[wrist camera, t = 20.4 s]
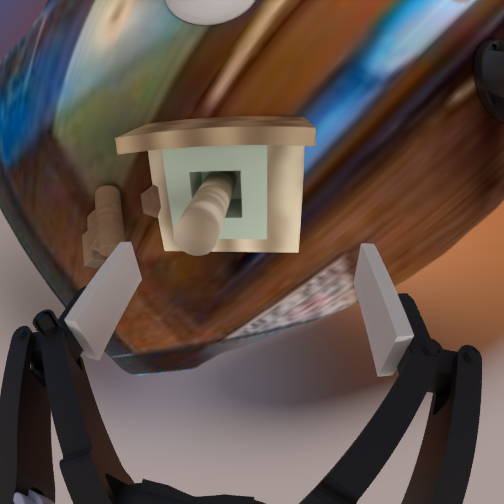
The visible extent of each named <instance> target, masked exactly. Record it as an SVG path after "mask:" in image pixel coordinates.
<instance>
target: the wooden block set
mask: <svg viewBox="0 0 504 504" xmlns="http://www.w3.org/2000/svg"><path fill="white" fill-rule="evenodd" d="M141 203H142V210H143V213H144V214H147V215H149V216H152V217H155V218H157V217H158V215H159V212H160V209H161V203H160V197H159V191H158V187H157V186H155V185H152V186H151V187H150V188H148V189H147V190H146V191H145V192H143V193H142V194H141ZM87 225H88V230H87V231H86V232H85V233H84V234H83V235H82V244H83V259H84V266H87V267H92V268H98V267H100V266H101V265H102V264H104V263H105V261H106V259H105V257H109V256H110V255H111V253H112V252H113V251H114V250H115V248H116V247H117V246H118V245H119V243H120V242H125V235H124V226H123V217H122V206H121V195H120V191H119V189H118V188H117V187H115V186H111V185H105V186H101V187H99V188H98V189H97V190H96V192H95V210H94V211H93V212H92V213H90V214H89V215H88V217H87Z"/></svg>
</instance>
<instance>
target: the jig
mask: <svg viewBox="0 0 504 504" xmlns="http://www.w3.org/2000/svg"><path fill="white" fill-rule="evenodd" d="M115 140H116V147H117V154H125V153H133V152H142V151H148V156H149V163H150V170H151V177H152V184H153V185H155V186H157V187H158V191H159V197H160V203H161V209H160V212H159V215H158V219H159V225H160V230H161V235H162V240H163V245H164V250H165V251H183V250H181V249H180V248H179V247H178V245H177V244H176V242H175V240H174V236H173V231H174V230H173V224H172V218H171V211H170V205H169V198H168V191H167V184H166V177H165V169H164V161H163V153H162V149H173V148H186V147H203V146H228V145H267V239H218V240H217V243H216V246H215V247H214V249H213V250H212V251H216V252H295V253H298V251H299V238H300V224H301V209H302V192H303V172H304V148H305V146H315V140H316V128H315V127H314V126H313V125H312V124H311V123H310V122H309V121H308V120H307V119H306V118H305V117H291V116H235V117H212V118H197V119H185V120H175V121H165V122H157V123H149V124H146V125H143V126H141V127H139V128H136V129H134V130H132V131H130V132H127V133H125V134H123V135H121V136H119V137H116V138H115Z"/></svg>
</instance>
